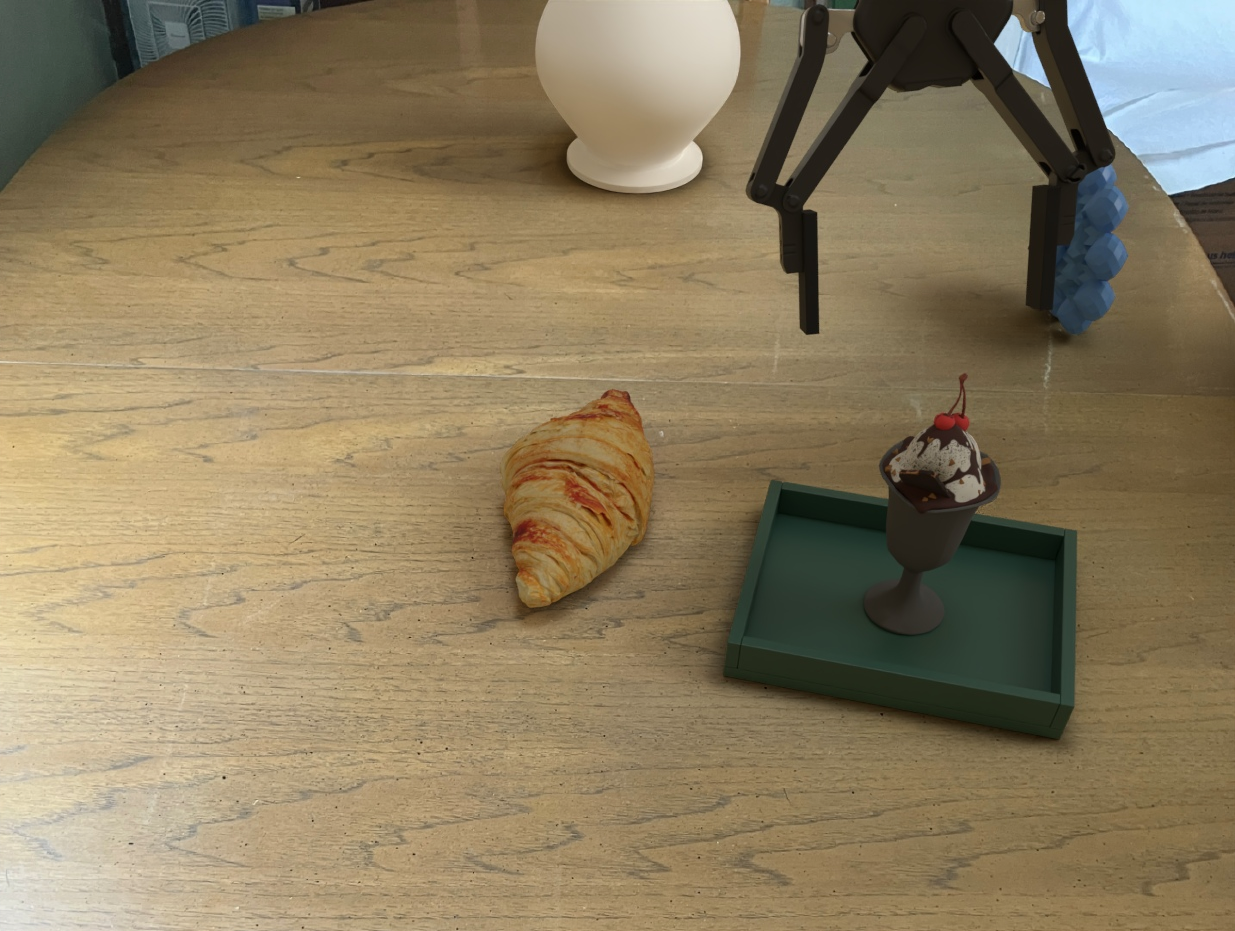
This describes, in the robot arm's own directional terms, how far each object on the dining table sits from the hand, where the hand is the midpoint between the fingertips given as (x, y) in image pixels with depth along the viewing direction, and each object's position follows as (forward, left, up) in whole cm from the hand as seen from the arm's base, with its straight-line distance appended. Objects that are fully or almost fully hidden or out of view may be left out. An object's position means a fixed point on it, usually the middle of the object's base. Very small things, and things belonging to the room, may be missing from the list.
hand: (923, 320), depth 73 cm
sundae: (-2, +11, -13) cm, 17 cm away
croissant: (+20, +7, -14) cm, 25 cm away
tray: (-2, +11, -13) cm, 18 cm away
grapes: (-10, -27, -14) cm, 32 cm away
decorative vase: (+28, -44, -14) cm, 54 cm away
